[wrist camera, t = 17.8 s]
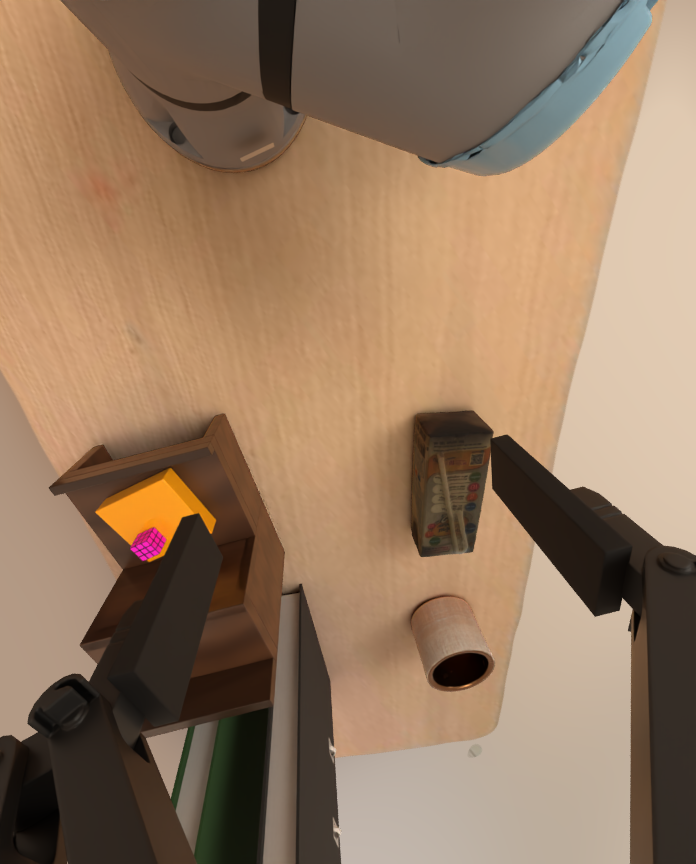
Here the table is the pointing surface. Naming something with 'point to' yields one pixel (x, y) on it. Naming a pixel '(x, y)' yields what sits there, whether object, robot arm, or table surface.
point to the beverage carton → (448, 481)
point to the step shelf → (237, 580)
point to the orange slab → (152, 513)
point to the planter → (451, 644)
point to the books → (267, 766)
